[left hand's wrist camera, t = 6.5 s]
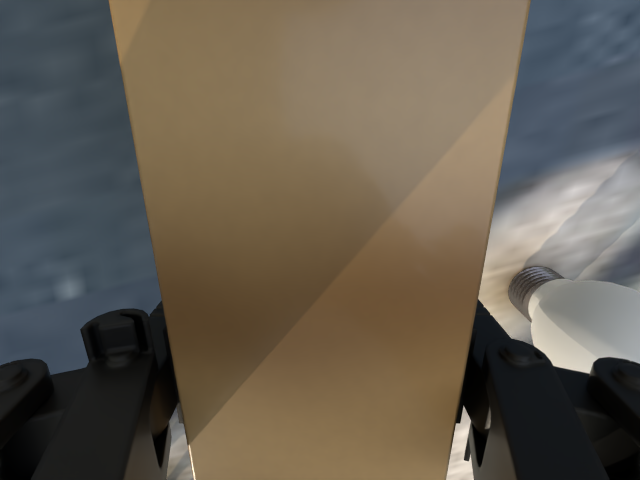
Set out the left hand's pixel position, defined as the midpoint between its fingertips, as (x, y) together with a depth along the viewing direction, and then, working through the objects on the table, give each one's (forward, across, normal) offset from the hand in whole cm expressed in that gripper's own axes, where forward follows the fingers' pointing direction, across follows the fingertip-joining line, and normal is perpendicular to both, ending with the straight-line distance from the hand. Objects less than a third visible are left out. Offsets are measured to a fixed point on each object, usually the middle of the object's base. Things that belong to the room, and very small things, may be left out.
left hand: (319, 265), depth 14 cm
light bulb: (+10, -16, +6) cm, 20 cm away
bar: (+1, 0, -8) cm, 9 cm away
